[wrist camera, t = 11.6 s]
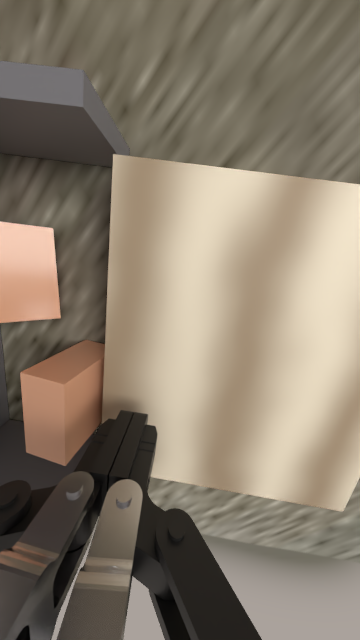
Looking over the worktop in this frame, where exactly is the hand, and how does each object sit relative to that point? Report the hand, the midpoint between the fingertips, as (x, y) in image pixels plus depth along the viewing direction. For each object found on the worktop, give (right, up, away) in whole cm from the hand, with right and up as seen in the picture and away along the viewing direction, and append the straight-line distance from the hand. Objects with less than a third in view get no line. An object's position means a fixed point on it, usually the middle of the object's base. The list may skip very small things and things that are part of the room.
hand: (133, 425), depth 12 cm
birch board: (+6, +4, +3) cm, 8 cm away
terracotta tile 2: (-3, +1, +2) cm, 3 cm away
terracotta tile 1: (-7, +8, -1) cm, 10 cm away
